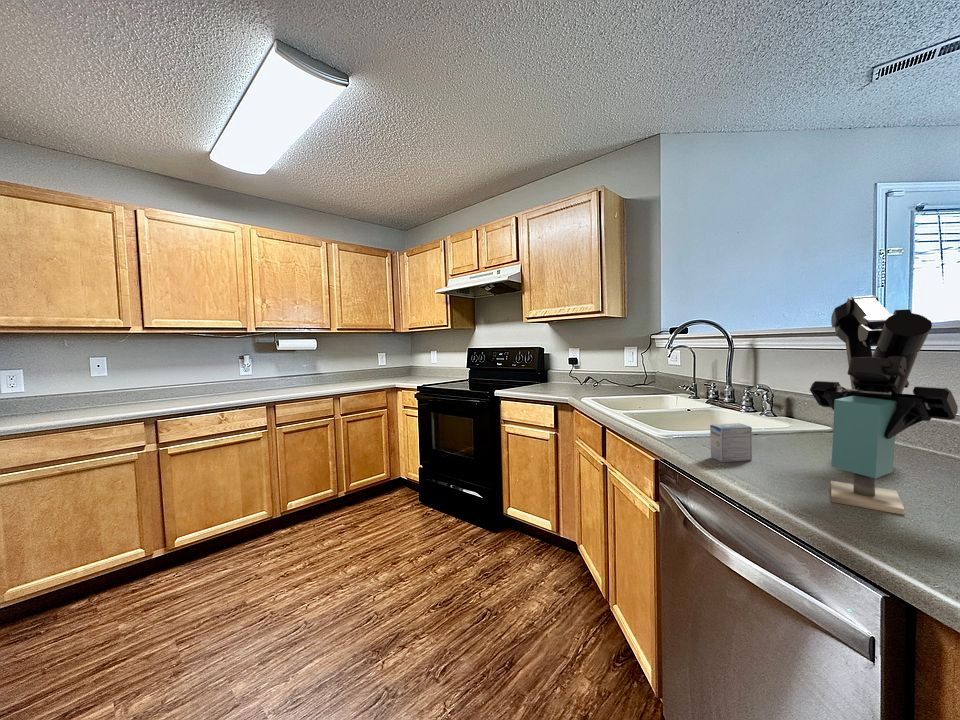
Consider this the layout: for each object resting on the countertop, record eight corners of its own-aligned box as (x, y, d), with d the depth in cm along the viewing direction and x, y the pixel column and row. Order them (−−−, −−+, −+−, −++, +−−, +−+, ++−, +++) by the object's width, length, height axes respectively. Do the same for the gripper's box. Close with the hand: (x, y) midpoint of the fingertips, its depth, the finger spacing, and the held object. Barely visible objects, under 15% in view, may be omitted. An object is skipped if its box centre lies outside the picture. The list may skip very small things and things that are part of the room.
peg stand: (830, 485, 77) (830, 463, 77) (896, 495, 71) (896, 471, 71) (831, 501, 70) (831, 477, 70) (904, 514, 64) (904, 488, 64)
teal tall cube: (849, 460, 75) (852, 395, 74) (892, 471, 69) (897, 401, 68) (831, 466, 72) (834, 399, 71) (875, 478, 67) (879, 405, 65)
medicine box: (740, 455, 99) (739, 422, 98) (752, 461, 94) (752, 426, 94) (710, 457, 98) (709, 424, 98) (721, 462, 94) (720, 428, 94)
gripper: (813, 342, 80) (784, 400, 76) (951, 339, 63) (923, 414, 59) (833, 376, 83) (806, 434, 79) (968, 383, 66) (943, 456, 62)
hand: (861, 433), depth 70 cm, fingers closed on teal tall cube, 6 cm apart
